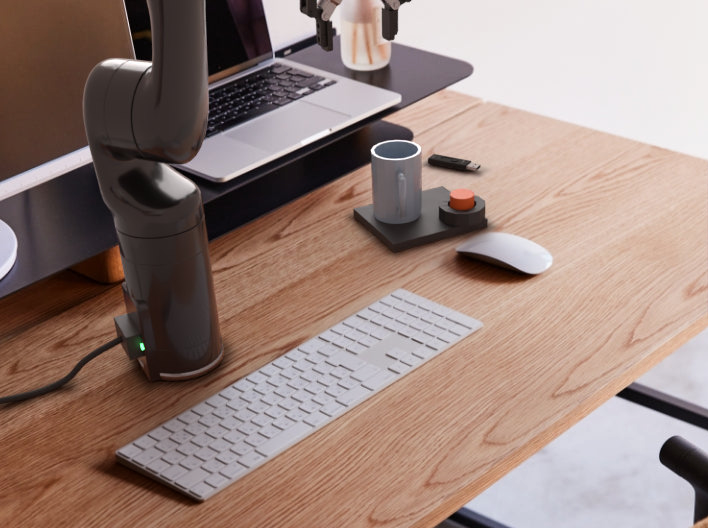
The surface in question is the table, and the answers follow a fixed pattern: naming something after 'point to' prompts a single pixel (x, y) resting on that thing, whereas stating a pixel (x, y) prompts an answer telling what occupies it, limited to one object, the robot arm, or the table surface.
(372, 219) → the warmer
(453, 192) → the warmer button
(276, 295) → the table surface
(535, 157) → the table surface
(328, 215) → the table surface
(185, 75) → the robot arm
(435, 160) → the usb flash drive
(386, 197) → the mug
